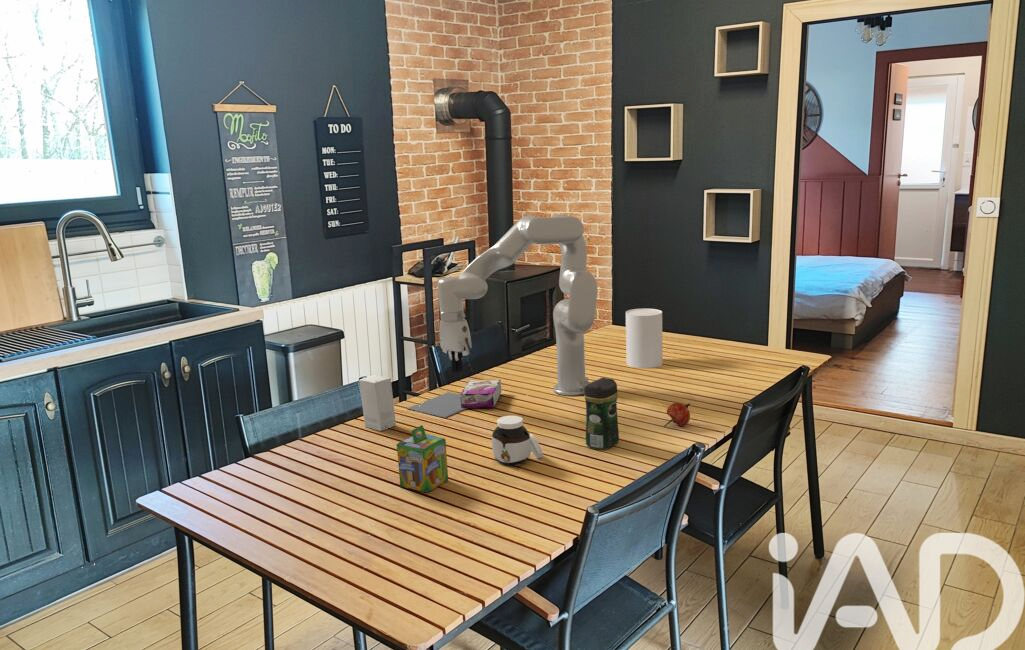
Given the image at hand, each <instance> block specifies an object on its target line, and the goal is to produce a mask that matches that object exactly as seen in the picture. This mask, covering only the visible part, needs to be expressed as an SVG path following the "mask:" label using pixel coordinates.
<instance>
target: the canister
mask: <svg viewBox="0 0 1025 650" xmlns="http://www.w3.org/2000/svg"><path fill="white" fill-rule="evenodd" d="M625 347H626V349H625V351H626V352H625V353H626V354H625V357H626V365H627V366H628V365H629V366H628V367H630V366H631V367H630V368H634V367H635V368H636V369H654V368H659V367H660V366H662V365H663V311H662V310H660V309H656V308H649V307H648V308H633V309H628V310H626V311H625ZM635 368H634V369H635Z"/></svg>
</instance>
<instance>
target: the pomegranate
mask: <svg viewBox="0 0 1025 650" xmlns="http://www.w3.org/2000/svg"><path fill="white" fill-rule="evenodd" d="M689 406H691V403H690V402H689V403H687V404H683V403H682V402H673V403H671V404H669V406H668V407H667V408H666V414H667V415H668V416H669V417H670V418H671V419H670V420H669V421H668V422H667V423H666V424H665V425H664V426H663V427H666V426H668V425H670V423H672V422H673V423H675V424H676V425H677V426H678V427H680V428H682V427H684V426H686V425H687V424H688V423H689V422H690V419H691V412H690V410H689Z"/></svg>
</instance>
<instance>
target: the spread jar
mask: <svg viewBox="0 0 1025 650" xmlns="http://www.w3.org/2000/svg"><path fill="white" fill-rule="evenodd" d="M496 422H497V425H496V426H497V427H496V428H494V430H493V431H492V434H491V445H492V447H491V448H492V454H493V457H494V459H495V460H496V461H497V462H498V463H499V464H500V465H503V466H506V467H507V466H508V467H514V466H516V467H517V466H519V465H520V466H521V465H522V464H524V463H525V462H526V461H527V460H528V459H530V456H531V453H532V454H533V456H534V457H535V458H536V459H540V458H542V457H544V452H543V449H542V447H541V445H540V443H539V441H538V440H537V438H536V437H535V435H534V434H532V433H529V431H528V429H527V428H526V427H525V426H524V419H523V417H521V416H519V415H504V416H501V417H499V418H497V420H496Z"/></svg>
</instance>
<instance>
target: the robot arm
mask: <svg viewBox="0 0 1025 650" xmlns="http://www.w3.org/2000/svg"><path fill="white" fill-rule="evenodd" d="M584 227H585V226H584V224H583V222H582V221H581V220H580V219H579V218H578V217H576V216H572V215H566V214H555V215H553V216H551V217H546V216H545V217H543V216H534V215H525V216H523V217H521V218H520V219H519V220H518V221H516V223H515V224H513V225H512V226H511V228H509V230H507V232H506V233H505V234H504V235H503V236H502V237H501V238H500V239H498V241H497V242H496V243H495V244H493V246H491V247H490V248H488V249H487V250H486V251H484V252H483V253H481V254H480V255H479V256H477V257H476V258H475V259H474V260H472V261H471V262H470V263H469V265H468V266H467V267H466V268H465V269H464V270H463V271H462V272H461V273H460V274H459V276H458V277H457V276H456V277H455V276H447V277H443V278H439V279H438V280H437V293H438V304H439V313H440V320H439V332H438V333H439V334H438V335H439V344H440V348H441V350H442V352H443V353H445V354H446V355H447V356H448V357H449V360H450V362H451V371H452V373H460V372H462V371H463V369H464V368H463V359H464V356H468V355H470V350H471V349H472V339H471V337H472V336H471V332H470V328H469V324H468V321H467V319H465V318H466V315H467V314H466V313H465V310H464V300H477V299H481V298H483V297H484V296H485V295H486V293H487V292H488V288H489V287H488V283H487V281H486V279H488V277H490V276H491V275H492V274H494V273H495V272H497V271H499V270H502V269H504V268H508V267H510V266H512V265H513V264H514V263H516V262H517V261H518V260H519V258H520V257H521V256H522V255H523V254H524V253H526V251H527V250H528V249H530V247H531V246H532V245H559V248H560V271H559V278H558V279H559V280H558V285H559V290H561V292H562V293H563V294H564V295H566V296H569V297H568V298H565V299H562V300H560V301H558V303H556V305H554V308H553V312H552V316H553V317H552V318H553V325H554V329H555V339H556V340H555V341H556V345H555V346H556V367H557V369H556V371H557V376H556V377H557V384H555V385H553V388H552V389H553V392H554V393H555V394H558V395H562V396H581V395H584V387H585V385H587V384H589V383H591V382H592V381H591V382H589V377H586V352H585V350H586V349H585V347H586V346H585V343H586V342H585V333H586V332H587V331H589V330H590V329H591V328H592V327H593V325H594V321H595V318H596V311H597V310H596V309H597V301H598V300H597V299H598V283H597V280H596V277H595V276H594V275H593V274H592V273H591V272H590V271H587V260H588V258H587V257H588V251H587V250H588V249H587V244H586V241H585V238H584V231H585V229H584Z"/></svg>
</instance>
